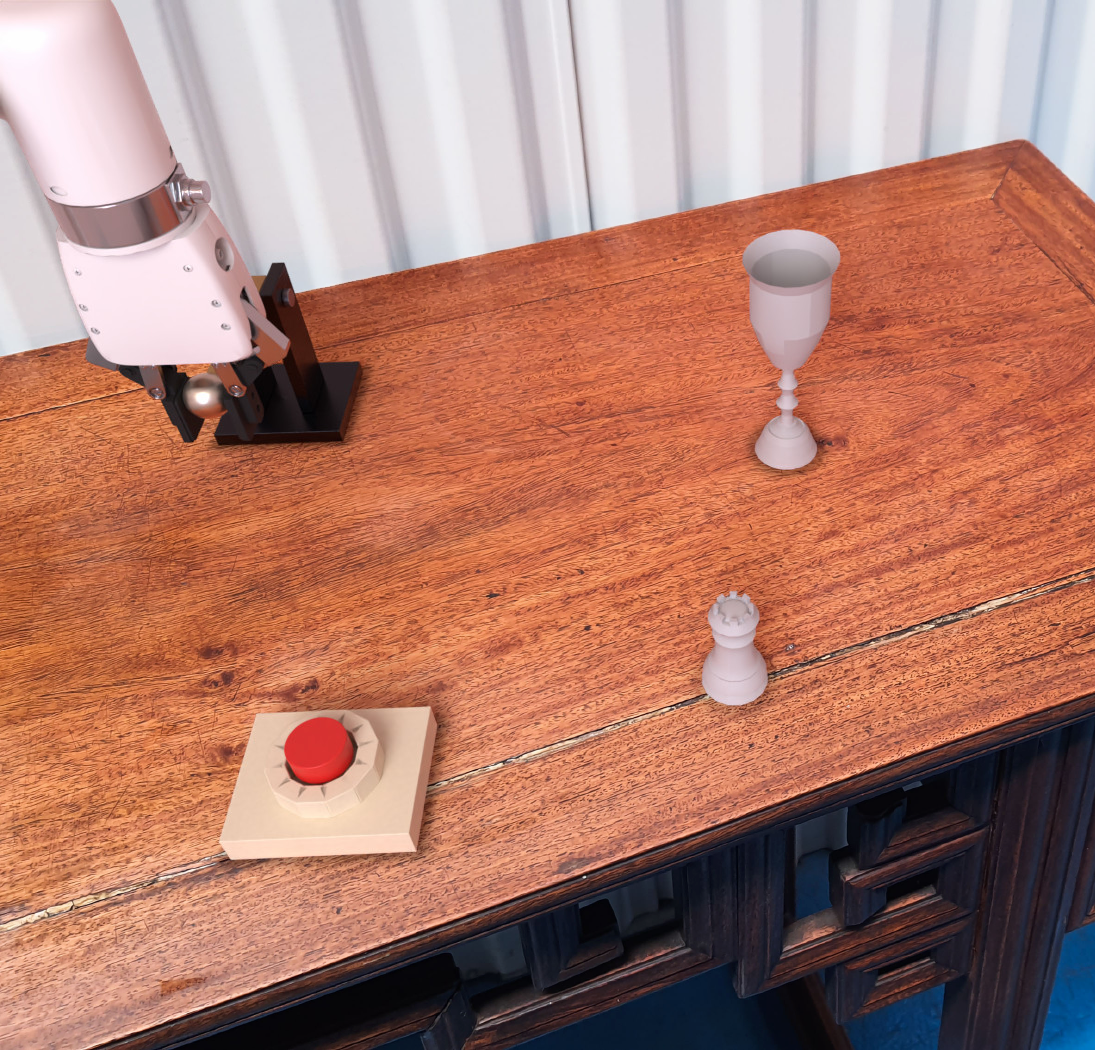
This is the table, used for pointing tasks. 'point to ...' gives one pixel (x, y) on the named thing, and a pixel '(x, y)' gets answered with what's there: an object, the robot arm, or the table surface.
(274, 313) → the switch bracket
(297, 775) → the red button
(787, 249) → the chalice
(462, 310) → the table surface
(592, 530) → the table surface
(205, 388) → the switch lever
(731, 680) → the rook chess piece
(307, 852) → the control box
